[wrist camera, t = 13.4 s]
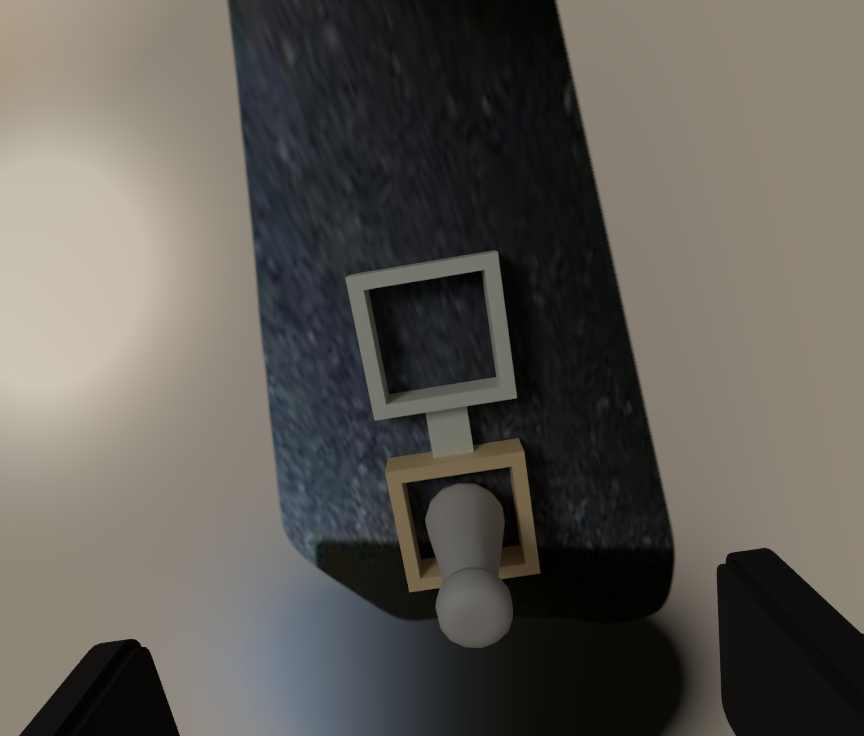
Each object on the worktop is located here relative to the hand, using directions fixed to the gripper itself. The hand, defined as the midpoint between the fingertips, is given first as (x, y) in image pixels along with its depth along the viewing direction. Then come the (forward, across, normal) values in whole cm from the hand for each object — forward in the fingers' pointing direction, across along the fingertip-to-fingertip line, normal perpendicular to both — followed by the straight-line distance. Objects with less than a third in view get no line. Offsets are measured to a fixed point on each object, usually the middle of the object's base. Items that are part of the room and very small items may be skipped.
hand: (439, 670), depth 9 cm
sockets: (+30, 0, +7) cm, 31 cm away
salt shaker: (+31, 0, +14) cm, 33 cm away
